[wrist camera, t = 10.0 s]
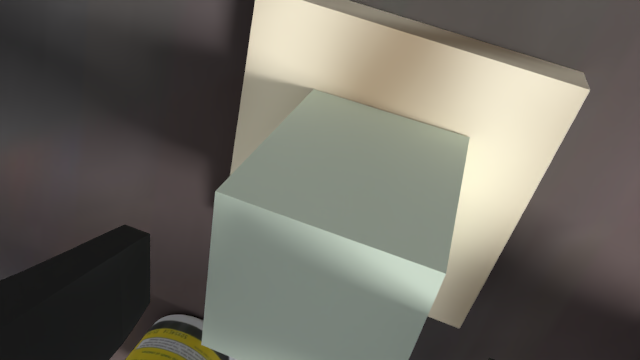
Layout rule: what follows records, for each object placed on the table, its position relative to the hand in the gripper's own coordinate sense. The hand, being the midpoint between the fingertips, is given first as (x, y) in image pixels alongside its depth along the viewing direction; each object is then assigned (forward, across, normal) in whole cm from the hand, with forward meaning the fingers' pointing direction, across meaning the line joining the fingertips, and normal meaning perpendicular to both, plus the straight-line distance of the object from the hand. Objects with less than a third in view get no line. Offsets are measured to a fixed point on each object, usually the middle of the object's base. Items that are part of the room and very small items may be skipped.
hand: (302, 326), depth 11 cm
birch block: (+8, 0, 0) cm, 8 cm away
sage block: (+6, 0, 0) cm, 6 cm away
